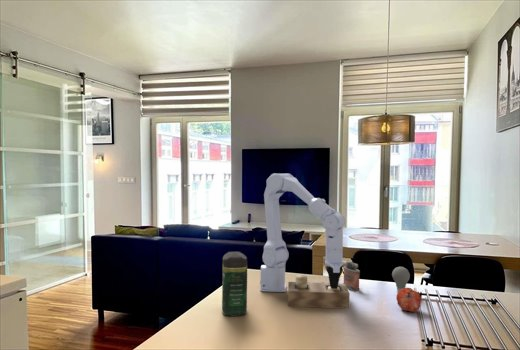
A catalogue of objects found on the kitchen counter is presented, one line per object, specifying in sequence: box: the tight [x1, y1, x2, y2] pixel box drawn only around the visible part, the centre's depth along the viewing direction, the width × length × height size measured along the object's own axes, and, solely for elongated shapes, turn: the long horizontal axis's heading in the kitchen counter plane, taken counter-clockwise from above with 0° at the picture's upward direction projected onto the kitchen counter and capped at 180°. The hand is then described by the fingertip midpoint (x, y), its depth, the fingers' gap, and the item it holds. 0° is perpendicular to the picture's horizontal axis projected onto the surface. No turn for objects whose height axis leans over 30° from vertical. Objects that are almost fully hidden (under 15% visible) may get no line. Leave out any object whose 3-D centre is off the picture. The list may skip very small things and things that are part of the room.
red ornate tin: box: [342, 261, 361, 292], centre depth 136 cm, size 8×3×10 cm, turn 25°
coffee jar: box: [221, 251, 248, 317], centre depth 113 cm, size 10×8×19 cm
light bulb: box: [391, 266, 411, 293], centre depth 130 cm, size 6×6×10 cm
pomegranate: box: [396, 287, 422, 313], centre depth 115 cm, size 7×7×10 cm
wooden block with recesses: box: [287, 281, 351, 309], centre depth 121 cm, size 20×10×5 cm, turn 85°
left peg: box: [295, 274, 308, 289], centre depth 122 cm, size 4×4×5 cm
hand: (333, 288), depth 121 cm, fingers closed, pressing on right peg
